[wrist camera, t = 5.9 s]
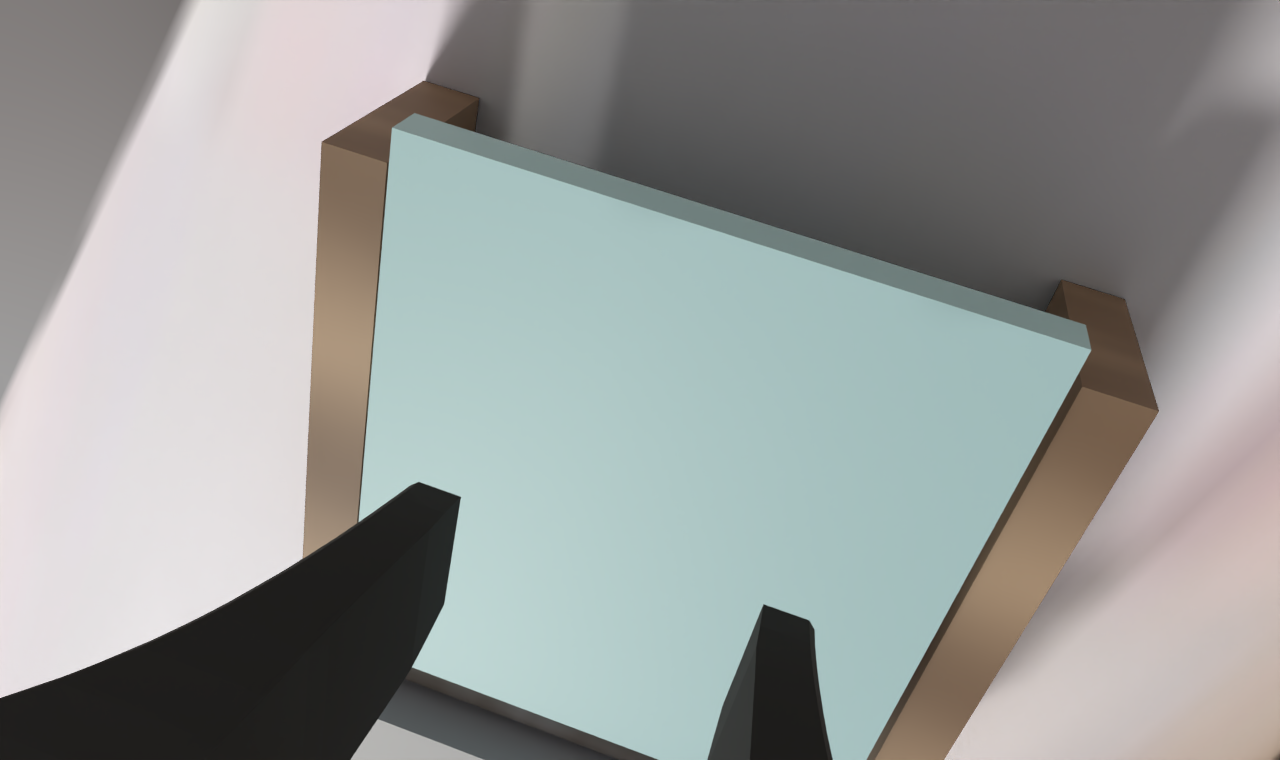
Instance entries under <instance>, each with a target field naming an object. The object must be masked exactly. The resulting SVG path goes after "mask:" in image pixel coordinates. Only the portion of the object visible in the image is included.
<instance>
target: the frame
mask: <svg viewBox="0 0 1280 760" xmlns="http://www.w3.org/2000/svg"><path fill="white" fill-rule="evenodd" d="M478 103H479V98H477V97H474V96H471V95H468V94H464V93H461V92H458V91H455V90H452V89H448V88H445V87H442V86H439V85H436V84H432V83H429V82H426V81H423V82H421V83H419V84H418V85H416V86H414V87H413V88H411V89H409V90H408V91H406V92H404V93H403V94H401V95H399V96H398V97H396V98H394V99H392V100H391V101H389V102H387V103H386V104H384V105H382V106H381V107H379V108H377V109H376V110H374V111H372V112H371V113H369V114H367V115H366V116H364V117H362V118H361V119H359V120H357V121H356V122H354V123H352V124H351V125H349V126H347V127H346V128H344V129H342V130H341V131H339V132H337V133H336V134H334V135H332V136H331V137H329V138H327V139H326V140H324V141H322V146H321V169H320V191H319V213H318V235H317V257H316V279H315V301H314V323H313V345H312V367H311V389H310V411H309V433H308V455H307V477H306V499H305V521H304V543H303V558H305V557H306V556H308V555H310V554H311V553H313V552H314V551H316V550H317V549H319V548H320V547H322V546H324V545H325V544H327V543H328V542H330V541H331V540H333V539H335V538H336V537H338V536H339V535H341V534H342V533H343V532H345V531H346V530H348V529H349V528H351V527H352V526H354V525H355V524H357V523H358V522H359V511H360V499H361V487H362V476H363V464H364V452H365V440H366V428H367V417H368V405H369V393H370V381H371V369H372V358H373V346H374V334H375V322H376V310H377V299H378V287H379V275H380V263H381V251H382V240H383V228H384V216H385V204H386V192H387V181H388V169H389V157H390V145H391V133H392V127H394V126H395V125H397V124H398V123H400V122H402V121H403V120H405V119H406V118H408V117H409V116H411V115H412V114H414V113H416V114H419V115H422V116H425V117H428V118H432V119H435V120H438V121H441V122H444V123H447V124H451V125H454V126H457V127H460V128H463V129H467V130H470V131H473V132H475V126H476V118H477V111H478ZM1045 312H1046V313H1050V314H1053V315H1056V316H1059V317H1062V318H1065V319H1069V320H1072V321H1075V322H1078V323H1081V324H1084V325H1086V328H1087V332H1088V337H1089V341H1090V346H1091V352H1090V354H1089V355H1088V357H1087V359H1086V361H1085V363H1084V365H1083V366H1082V368H1081V370H1080V372H1079V374H1078V375H1077V377H1076V379H1075V381H1074V383H1073V385H1072V386H1071V388H1070V390H1069V392H1068V394H1067V395H1066V397H1065V399H1064V401H1063V403H1062V405H1061V406H1060V408H1059V410H1058V412H1057V414H1056V415H1055V417H1054V419H1053V421H1052V423H1051V425H1050V426H1049V428H1048V430H1047V432H1046V434H1045V436H1044V437H1043V439H1042V441H1041V443H1040V445H1039V446H1038V448H1037V450H1036V452H1035V454H1034V456H1033V457H1032V459H1031V461H1030V463H1029V465H1028V466H1027V468H1026V470H1025V472H1024V474H1023V476H1022V477H1021V479H1020V481H1019V483H1018V485H1017V487H1016V488H1015V490H1014V492H1013V494H1012V496H1011V497H1010V499H1009V501H1008V503H1007V505H1006V507H1005V508H1004V510H1003V512H1002V514H1001V516H1000V517H999V519H998V521H997V523H996V525H995V527H994V528H993V530H992V532H991V534H990V536H989V537H988V539H987V541H986V543H985V545H984V547H983V548H982V550H981V552H980V554H979V556H978V558H977V559H976V561H975V563H974V565H973V567H972V568H971V570H970V572H969V574H968V576H967V578H966V579H965V581H964V583H963V585H962V587H961V588H960V590H959V592H958V594H957V596H956V598H955V599H954V601H953V603H952V605H951V607H950V609H949V610H948V612H947V614H946V616H945V618H944V619H943V621H942V623H941V625H940V627H939V629H938V630H937V632H936V634H935V636H934V638H933V639H932V641H931V643H930V645H929V647H928V649H927V650H926V652H925V654H924V656H923V658H922V660H921V661H920V663H919V665H918V667H917V669H916V670H915V672H914V674H913V676H912V678H911V680H910V681H909V683H908V685H907V687H906V689H905V690H904V692H903V694H902V696H901V698H900V700H899V701H898V703H897V705H896V707H895V709H894V710H893V712H892V714H891V716H890V718H889V720H888V721H887V723H886V725H885V727H884V729H883V731H882V732H881V734H880V736H879V738H878V740H877V741H876V743H875V745H874V747H873V749H872V751H871V752H870V754H869V756H868V758H867V760H944V759H945V757H946V755H947V754H948V752H949V751H950V749H951V747H952V746H953V744H954V743H955V741H956V739H957V738H958V736H959V734H960V733H961V731H962V730H963V728H964V726H965V725H966V723H967V721H968V720H969V718H970V717H971V715H972V713H973V712H974V710H975V709H976V707H977V705H978V704H979V702H980V700H981V699H982V697H983V696H984V694H985V692H986V691H987V689H988V687H989V686H990V684H991V683H992V681H993V679H994V678H995V676H996V674H997V673H998V671H999V670H1000V668H1001V666H1002V665H1003V663H1004V662H1005V660H1006V658H1007V657H1008V655H1009V653H1010V652H1011V650H1012V649H1013V647H1014V645H1015V644H1016V642H1017V640H1018V639H1019V637H1020V636H1021V634H1022V632H1023V631H1024V629H1025V627H1026V626H1027V624H1028V623H1029V621H1030V619H1031V618H1032V616H1033V615H1034V613H1035V611H1036V610H1037V608H1038V606H1039V605H1040V603H1041V602H1042V600H1043V598H1044V597H1045V595H1046V593H1047V592H1048V590H1049V589H1050V587H1051V585H1052V584H1053V582H1054V581H1055V579H1056V577H1057V576H1058V574H1059V572H1060V571H1061V569H1062V568H1063V566H1064V564H1065V563H1066V561H1067V559H1068V558H1069V556H1070V555H1071V553H1072V551H1073V550H1074V548H1075V546H1076V545H1077V543H1078V542H1079V540H1080V538H1081V537H1082V535H1083V534H1084V532H1085V530H1086V529H1087V527H1088V525H1089V524H1090V522H1091V521H1092V519H1093V517H1094V516H1095V514H1096V512H1097V511H1098V509H1099V508H1100V506H1101V504H1102V503H1103V501H1104V500H1105V498H1106V496H1107V495H1108V493H1109V491H1110V490H1111V488H1112V487H1113V485H1114V483H1115V482H1116V480H1117V478H1118V477H1119V475H1120V474H1121V472H1122V470H1123V469H1124V467H1125V465H1126V464H1127V462H1128V461H1129V459H1130V457H1131V456H1132V454H1133V453H1134V451H1135V449H1136V448H1137V446H1138V444H1139V443H1140V441H1141V440H1142V438H1143V436H1144V435H1145V433H1146V431H1147V430H1148V428H1149V427H1150V425H1151V423H1152V422H1153V420H1154V419H1155V417H1156V415H1157V414H1158V412H1159V410H1158V407H1157V403H1156V400H1155V397H1154V393H1153V390H1152V387H1151V384H1150V380H1149V377H1148V374H1147V371H1146V367H1145V364H1144V361H1143V357H1142V354H1141V351H1140V348H1139V344H1138V341H1137V338H1136V334H1135V331H1134V328H1133V325H1132V321H1131V318H1130V315H1129V312H1128V308H1127V305H1126V302H1125V299H1122V298H1119V297H1116V296H1112V295H1109V294H1106V293H1103V292H1100V291H1096V290H1093V289H1090V288H1087V287H1083V286H1080V285H1077V284H1074V283H1071V282H1067V281H1064V280H1061V282H1060V284H1059V286H1058V288H1057V290H1056V291H1055V293H1054V295H1053V297H1052V299H1051V301H1050V303H1049V305H1048V307H1047V309H1046V311H1045ZM405 679H406V680H408V681H411V682H414V683H416V684H419V685H422V686H424V687H427V688H430V689H432V690H435V691H438V692H440V693H443V694H445V695H448V696H451V697H453V698H456V699H459V700H461V701H464V702H467V703H469V704H472V705H475V706H477V707H480V708H483V709H485V710H488V711H491V712H493V713H496V714H499V715H501V716H504V717H507V718H509V719H512V720H514V721H517V722H520V723H522V724H525V725H528V726H530V727H533V728H536V729H538V730H541V731H544V732H546V733H549V734H552V735H554V736H557V737H560V738H562V739H565V740H568V741H570V742H573V743H576V744H578V745H581V746H584V747H586V748H589V749H591V750H594V751H597V752H599V753H602V754H605V755H607V756H610V757H613V758H615V759H618V760H658V759H655V758H653V757H650V756H647V755H645V754H642V753H639V752H637V751H634V750H631V749H629V748H626V747H623V746H621V745H618V744H615V743H613V742H610V741H607V740H605V739H602V738H599V737H597V736H594V735H591V734H589V733H586V732H583V731H581V730H578V729H575V728H573V727H570V726H567V725H565V724H562V723H559V722H557V721H554V720H551V719H549V718H546V717H543V716H541V715H538V714H535V713H533V712H530V711H527V710H525V709H522V708H519V707H517V706H514V705H511V704H509V703H506V702H503V701H501V700H498V699H495V698H493V697H490V696H487V695H485V694H482V693H479V692H477V691H474V690H471V689H469V688H466V687H463V686H461V685H458V684H455V683H453V682H450V681H447V680H445V679H442V678H439V677H437V676H434V675H431V674H429V673H426V672H423V671H421V670H418V669H415V668H413V667H412V668H411V670H410V671H409V673H408V675H407V676H406V678H405Z"/></svg>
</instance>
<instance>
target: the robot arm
mask: <svg viewBox="0 0 1280 760" xmlns="http://www.w3.org/2000/svg"><path fill="white" fill-rule="evenodd" d="M460 500H461V497H460V496H457V495H455V494H452V493H449V492H446V491H443V490H441V489H438V488H435V487H432V486H429V485H426V484H424V483H421V482H417V483H415V484H412V485H410V486H409V487H407V488H406V489H405V490H403V491H402V492H400V493H399V494H398V495H396V496H395V497H394V498H392V499H391V500H389V501H388V502H387V503H385V504H384V505H382V506H381V507H380V508H378V509H377V510H375V511H374V512H373V513H371V514H370V515H368V516H367V517H365V518H364V519H363V520H361V521H360V522H358V523H357V524H355V525H354V526H352V527H351V528H349V529H348V530H346V531H345V532H343V533H342V534H341V535H339V536H338V537H336V538H335V539H333V540H331V541H330V542H328V543H327V544H325V545H324V546H322V547H320V548H319V549H317V550H316V551H314V552H313V553H311V554H310V555H308V556H306V557H305V558H303V559H302V560H300V561H299V562H297V563H295V564H294V565H292V566H291V567H289V568H287V569H286V570H284V571H282V572H281V573H279V574H277V575H276V576H274V577H272V578H270V579H269V580H267V581H265V582H263V583H262V584H260V585H258V586H256V587H255V588H253V589H251V590H249V591H248V592H246V593H244V594H242V595H241V596H239V597H237V598H235V599H234V600H232V601H230V602H228V603H226V604H224V605H223V606H221V607H219V608H217V609H215V610H213V611H211V612H209V613H207V614H205V615H203V616H201V617H199V618H197V619H195V620H193V621H191V622H189V623H187V624H185V625H183V626H181V627H179V628H177V629H175V630H173V631H171V632H168V633H166V634H164V635H162V636H160V637H158V638H156V639H154V640H151V641H149V642H147V643H144V644H142V645H140V646H137V647H135V648H133V649H130V650H128V651H126V652H123V653H121V654H119V655H116V656H114V657H111V658H109V659H107V660H104V661H102V662H100V663H97V664H95V665H92V666H90V667H87V668H85V669H82V670H79V671H77V672H74V673H72V674H69V675H66V676H64V677H61V678H58V679H55V680H52V681H49V682H46V683H43V684H40V685H37V686H35V687H32V688H29V689H26V690H23V691H20V692H17V693H14V694H11V695H8V696H5V697H2V698H0V760H351V758H352V757H353V755H354V754H355V752H356V751H357V749H358V748H359V746H360V745H361V743H362V742H363V740H364V739H365V737H366V736H367V734H368V733H369V731H370V730H371V729H372V727H373V726H374V724H375V723H376V721H377V720H378V718H379V717H380V715H381V714H382V712H383V711H384V709H385V708H386V706H387V705H388V703H389V702H390V700H391V699H392V697H393V696H394V694H395V693H396V691H397V690H398V688H399V687H400V685H401V684H402V682H403V681H404V679H405V678H406V676H407V675H408V673H409V671H410V670H411V668H412V666H413V664H414V662H415V660H416V659H417V657H418V655H419V653H420V651H421V649H422V647H423V645H424V643H425V641H426V639H427V638H428V636H429V634H430V632H431V630H432V628H433V626H434V624H435V622H436V620H437V618H438V616H439V614H440V612H441V610H442V608H443V606H444V603H445V596H446V590H447V583H448V577H449V571H450V564H451V558H452V551H453V545H454V539H455V532H456V526H457V519H458V513H459V507H460ZM707 760H833V758H832V754H831V749H830V744H829V740H828V735H827V730H826V724H825V719H824V713H823V707H822V700H821V694H820V687H819V679H818V671H817V661H816V649H815V629H814V628H813V626H812V624H811V622H810V621H809V620H807V619H804V618H801V617H798V616H796V615H793V614H790V613H787V612H784V611H781V610H779V609H776V608H773V607H770V606H767V605H765V604H763V607H762V609H761V612H760V614H759V617H758V619H757V621H756V624H755V626H754V629H753V631H752V634H751V636H750V639H749V641H748V644H747V646H746V649H745V651H744V654H743V656H742V659H741V661H740V664H739V666H738V669H737V671H736V674H735V676H734V678H733V681H732V683H731V686H730V688H729V691H728V693H727V696H726V698H725V701H724V703H723V706H722V709H721V713H720V716H719V720H718V723H717V727H716V730H715V734H714V737H713V741H712V744H711V748H710V752H709V755H708V759H707Z"/></svg>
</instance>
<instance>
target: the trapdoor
mask: <svg viewBox="0 0 1280 760" xmlns="http://www.w3.org/2000/svg"><path fill="white" fill-rule="evenodd" d="M1090 352H1091V346H1090V341H1089V337H1088V332H1087V328H1086V325H1084V324H1081V323H1078V322H1075V321H1072V320H1069V319H1065V318H1062V317H1059V316H1056V315H1053V314H1050V313H1046V312H1043V311H1040V310H1037V309H1034V308H1031V307H1027V306H1024V305H1021V304H1018V303H1015V302H1012V301H1008V300H1005V299H1002V298H999V297H996V296H993V295H989V294H986V293H983V292H980V291H977V290H974V289H970V288H967V287H964V286H961V285H958V284H955V283H951V282H948V281H945V280H942V279H939V278H935V277H932V276H929V275H926V274H923V273H920V272H916V271H913V270H910V269H907V268H904V267H901V266H897V265H894V264H891V263H888V262H885V261H882V260H878V259H875V258H872V257H869V256H866V255H863V254H859V253H856V252H853V251H850V250H847V249H844V248H840V247H837V246H834V245H831V244H828V243H825V242H821V241H818V240H815V239H812V238H809V237H806V236H802V235H799V234H796V233H793V232H790V231H787V230H783V229H780V228H777V227H774V226H771V225H768V224H764V223H761V222H758V221H755V220H752V219H749V218H745V217H742V216H739V215H736V214H733V213H730V212H726V211H723V210H720V209H717V208H714V207H711V206H707V205H704V204H701V203H698V202H695V201H691V200H688V199H685V198H682V197H679V196H676V195H672V194H669V193H666V192H663V191H660V190H657V189H653V188H650V187H647V186H644V185H641V184H638V183H634V182H631V181H628V180H625V179H622V178H619V177H615V176H612V175H609V174H606V173H603V172H600V171H596V170H593V169H590V168H587V167H584V166H581V165H577V164H574V163H571V162H568V161H565V160H562V159H558V158H555V157H552V156H549V155H546V154H543V153H539V152H536V151H533V150H530V149H527V148H524V147H520V146H517V145H514V144H511V143H508V142H505V141H501V140H498V139H495V138H492V137H489V136H486V135H482V134H479V133H476V132H473V131H470V130H467V129H463V128H460V127H457V126H454V125H451V124H447V123H444V122H441V121H438V120H435V119H432V118H428V117H425V116H422V115H419V114H416V113H414V114H412V115H411V116H409V117H408V118H406V119H405V120H403V121H402V122H400V123H398V124H397V125H395V126H394V127H392V133H391V145H390V157H389V169H388V181H387V192H386V204H385V216H384V228H383V240H382V251H381V263H380V275H379V287H378V299H377V310H376V322H375V334H374V346H373V358H372V369H371V381H370V393H369V405H368V417H367V428H366V440H365V452H364V464H363V476H362V487H361V499H360V511H359V522H360V521H361V520H363V519H364V518H365V517H367V516H368V515H370V514H371V513H373V512H374V511H375V510H377V509H378V508H380V507H381V506H382V505H384V504H385V503H387V502H388V501H389V500H391V499H392V498H394V497H395V496H396V495H398V494H399V493H400V492H402V491H403V490H405V489H406V488H407V487H409V486H410V485H412V484H415V483H417V482H421V483H424V484H426V485H429V486H432V487H435V488H438V489H441V490H443V491H446V492H449V493H452V494H455V495H457V496H460V497H461V500H460V507H459V513H458V519H457V526H456V532H455V539H454V545H453V551H452V558H451V564H450V571H449V577H448V583H447V590H446V596H445V603H444V606H443V608H442V610H441V612H440V614H439V616H438V618H437V620H436V622H435V624H434V626H433V628H432V630H431V632H430V634H429V636H428V638H427V639H426V641H425V643H424V645H423V647H422V649H421V651H420V653H419V655H418V657H417V659H416V660H415V662H414V664H413V666H412V667H413V668H415V669H418V670H421V671H423V672H426V673H429V674H431V675H434V676H437V677H439V678H442V679H445V680H447V681H450V682H453V683H455V684H458V685H461V686H463V687H466V688H469V689H471V690H474V691H477V692H479V693H482V694H485V695H487V696H490V697H493V698H495V699H498V700H501V701H503V702H506V703H509V704H511V705H514V706H517V707H519V708H522V709H525V710H527V711H530V712H533V713H535V714H538V715H541V716H543V717H546V718H549V719H551V720H554V721H557V722H559V723H562V724H565V725H567V726H570V727H573V728H575V729H578V730H581V731H583V732H586V733H589V734H591V735H594V736H597V737H599V738H602V739H605V740H607V741H610V742H613V743H615V744H618V745H621V746H623V747H626V748H629V749H631V750H634V751H637V752H639V753H642V754H645V755H647V756H650V757H653V758H655V759H658V760H707V759H708V755H709V752H710V748H711V744H712V741H713V737H714V734H715V730H716V727H717V723H718V720H719V716H720V713H721V709H722V706H723V703H724V701H725V698H726V696H727V693H728V691H729V688H730V686H731V683H732V681H733V678H734V676H735V674H736V671H737V669H738V666H739V664H740V661H741V659H742V656H743V654H744V651H745V649H746V646H747V644H748V641H749V639H750V636H751V634H752V631H753V629H754V626H755V624H756V621H757V619H758V617H759V614H760V612H761V609H762V607H763V604H765V605H767V606H770V607H773V608H776V609H779V610H781V611H784V612H787V613H790V614H793V615H796V616H798V617H801V618H804V619H807V620H809V621H810V622H811V624H812V626H813V628H814V629H815V649H816V661H817V671H818V679H819V687H820V694H821V700H822V707H823V713H824V719H825V724H826V730H827V735H828V740H829V744H830V749H831V754H832V758H833V760H867V758H868V756H869V754H870V752H871V751H872V749H873V747H874V745H875V743H876V741H877V740H878V738H879V736H880V734H881V732H882V731H883V729H884V727H885V725H886V723H887V721H888V720H889V718H890V716H891V714H892V712H893V710H894V709H895V707H896V705H897V703H898V701H899V700H900V698H901V696H902V694H903V692H904V690H905V689H906V687H907V685H908V683H909V681H910V680H911V678H912V676H913V674H914V672H915V670H916V669H917V667H918V665H919V663H920V661H921V660H922V658H923V656H924V654H925V652H926V650H927V649H928V647H929V645H930V643H931V641H932V639H933V638H934V636H935V634H936V632H937V630H938V629H939V627H940V625H941V623H942V621H943V619H944V618H945V616H946V614H947V612H948V610H949V609H950V607H951V605H952V603H953V601H954V599H955V598H956V596H957V594H958V592H959V590H960V588H961V587H962V585H963V583H964V581H965V579H966V578H967V576H968V574H969V572H970V570H971V568H972V567H973V565H974V563H975V561H976V559H977V558H978V556H979V554H980V552H981V550H982V548H983V547H984V545H985V543H986V541H987V539H988V537H989V536H990V534H991V532H992V530H993V528H994V527H995V525H996V523H997V521H998V519H999V517H1000V516H1001V514H1002V512H1003V510H1004V508H1005V507H1006V505H1007V503H1008V501H1009V499H1010V497H1011V496H1012V494H1013V492H1014V490H1015V488H1016V487H1017V485H1018V483H1019V481H1020V479H1021V477H1022V476H1023V474H1024V472H1025V470H1026V468H1027V466H1028V465H1029V463H1030V461H1031V459H1032V457H1033V456H1034V454H1035V452H1036V450H1037V448H1038V446H1039V445H1040V443H1041V441H1042V439H1043V437H1044V436H1045V434H1046V432H1047V430H1048V428H1049V426H1050V425H1051V423H1052V421H1053V419H1054V417H1055V415H1056V414H1057V412H1058V410H1059V408H1060V406H1061V405H1062V403H1063V401H1064V399H1065V397H1066V395H1067V394H1068V392H1069V390H1070V388H1071V386H1072V385H1073V383H1074V381H1075V379H1076V377H1077V375H1078V374H1079V372H1080V370H1081V368H1082V366H1083V365H1084V363H1085V361H1086V359H1087V357H1088V355H1089V354H1090ZM351 760H618V759H615V758H613V757H610V756H607V755H605V754H602V753H599V752H597V751H594V750H591V749H589V748H586V747H584V746H581V745H578V744H576V743H573V742H570V741H568V740H565V739H562V738H560V737H557V736H554V735H552V734H549V733H546V732H544V731H541V730H538V729H536V728H533V727H530V726H528V725H525V724H522V723H520V722H517V721H514V720H512V719H509V718H507V717H504V716H501V715H499V714H496V713H493V712H491V711H488V710H485V709H483V708H480V707H477V706H475V705H472V704H469V703H467V702H464V701H461V700H459V699H456V698H453V697H451V696H448V695H445V694H443V693H440V692H438V691H435V690H432V689H430V688H427V687H424V686H422V685H419V684H416V683H414V682H411V681H408V680H406V679H404V681H403V682H402V684H401V685H400V687H399V688H398V690H397V691H396V693H395V694H394V696H393V697H392V699H391V700H390V702H389V703H388V705H387V706H386V708H385V709H384V711H383V712H382V714H381V715H380V717H379V718H378V720H377V721H376V723H375V724H374V726H373V727H372V729H371V730H370V731H369V733H368V734H367V736H366V737H365V739H364V740H363V742H362V743H361V745H360V746H359V748H358V749H357V751H356V752H355V754H354V755H353V757H352V758H351Z"/></svg>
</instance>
